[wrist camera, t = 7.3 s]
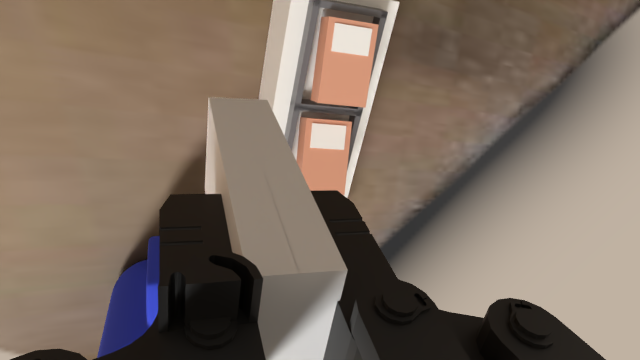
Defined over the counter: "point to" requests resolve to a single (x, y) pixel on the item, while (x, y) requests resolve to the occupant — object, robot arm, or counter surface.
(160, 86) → the counter surface
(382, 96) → the counter surface
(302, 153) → the block
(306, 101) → the white rack
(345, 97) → the orange rectangular block
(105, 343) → the mug
